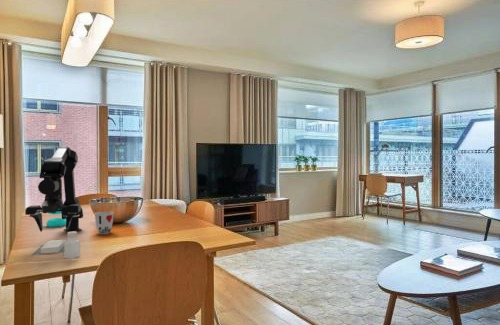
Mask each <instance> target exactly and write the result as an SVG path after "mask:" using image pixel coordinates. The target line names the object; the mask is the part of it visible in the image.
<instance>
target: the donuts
mask: <svg viewBox="0 0 500 325" xmlns="http://www.w3.org/2000/svg"><path fill="white" fill-rule="evenodd" d="M48 215H62V214H61V211H57V212H56V213H48ZM45 224H46V226H47V227H49V228H60V227H64V226H65V227H66V219H62V217H55V218H50V219H48V220H47V221H46V223H45Z"/></svg>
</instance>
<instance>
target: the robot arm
mask: <svg viewBox="0 0 500 325" xmlns="http://www.w3.org/2000/svg"><path fill="white" fill-rule="evenodd" d="M55 150H56V151H55V152H54V153H53V155H52V157H51V158H47V159H45V160H44V161H43V163H42V164H41V169H40V173H39V179H43V180H41V181H40V182H39V183H38V185H37V189H38V191H39V193H40V194H42V195H44V200H43V202H42V203H41V205H40V204H39V205H30V206H27V207H26V208H25V212H24V213H25V215H26V216H27V215H28V217H30V218H31V217H32V218H33V219H34V220H35V222H36V224H37V227H38V230H39V232H40V233H41V232H42V231H43V214H49V213H56V212H57V211H61V214H60V215H61V218H62V219H66V225H65V228H64V229H63V231H65V232H66V233H68V232H72V231H76V232H77V231H82V229H81V227H80V221H79V220H80V219H83V218H84V212H83V208H82V206H81V204H80V200H79V199H78V198H77V197H76V187H75V185H76V184H75V173H74V172H75V171H74V170H75V168H76V166H77V165H78V161H79V158H78V157H79V156H78V153H77V152H76V151H75V150H73V149H71V147H69V146H57V147H56V149H55ZM63 185H64V186H63ZM63 187H64V195H65V196H64V199H65V200H63ZM63 201H64V202H63Z"/></svg>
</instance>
